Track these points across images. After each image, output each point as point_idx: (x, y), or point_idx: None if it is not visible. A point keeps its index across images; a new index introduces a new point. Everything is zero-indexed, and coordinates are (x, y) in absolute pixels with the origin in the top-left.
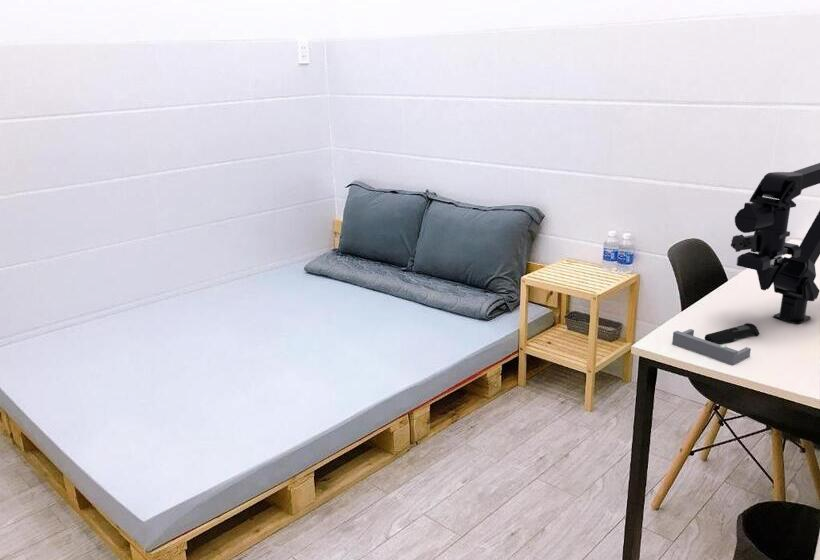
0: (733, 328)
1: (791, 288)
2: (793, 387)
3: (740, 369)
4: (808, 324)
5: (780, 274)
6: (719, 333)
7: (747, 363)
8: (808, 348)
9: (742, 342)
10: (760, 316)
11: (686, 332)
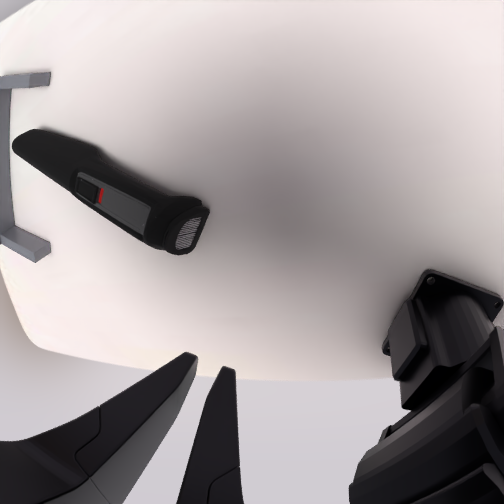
0: (90, 187)
1: (378, 449)
2: (29, 326)
3: None
4: None
5: (449, 470)
6: (35, 167)
7: None
8: None
9: None
10: (423, 220)
11: (10, 84)
